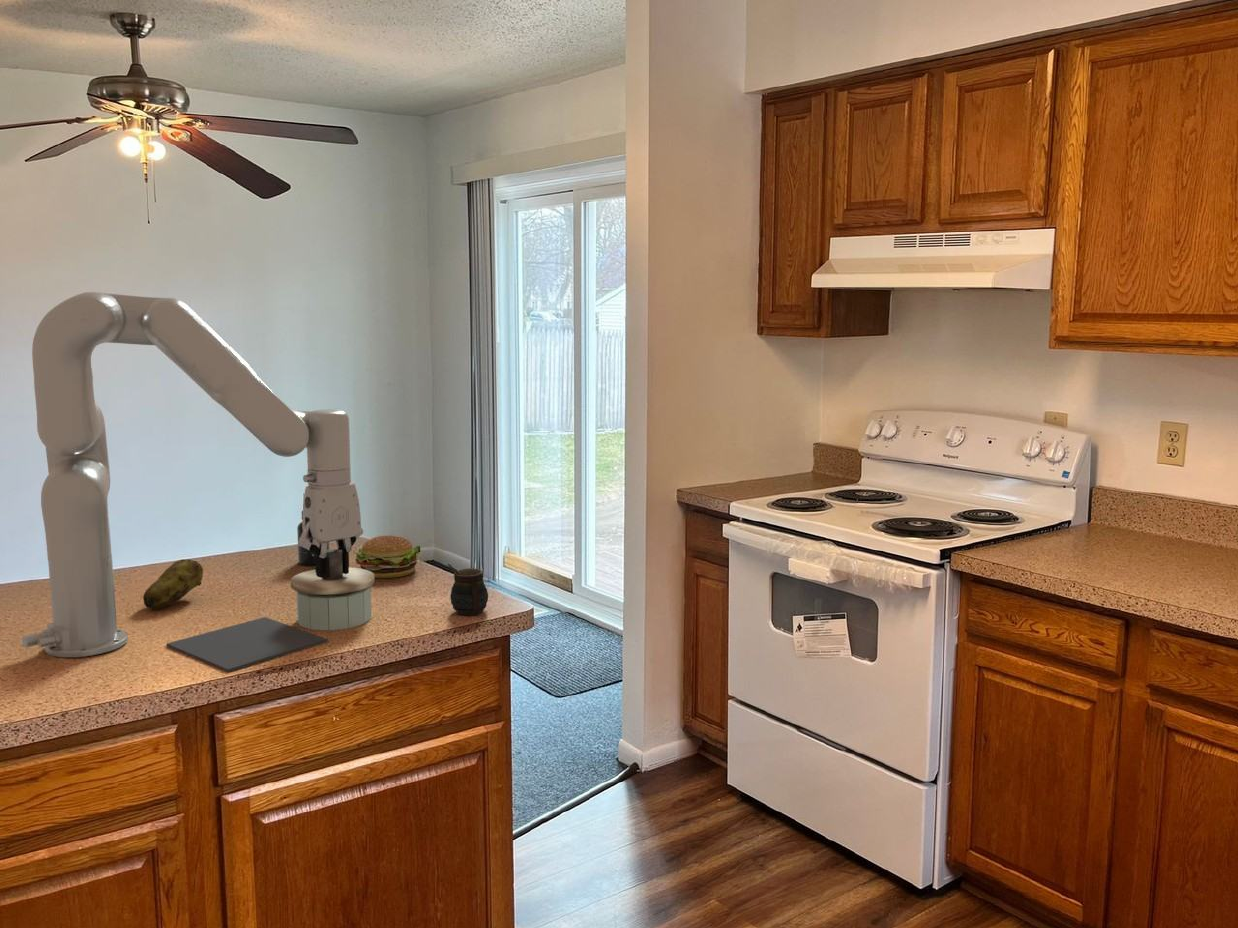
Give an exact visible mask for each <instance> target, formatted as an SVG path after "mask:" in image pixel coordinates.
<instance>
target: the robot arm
mask: <svg viewBox="0 0 1238 928" xmlns="http://www.w3.org/2000/svg"><path fill="white" fill-rule="evenodd" d="M32 339H33V340H32V348H31V350H32V351H31V352H32V353H31V356H32V369H33V371H32V372H33V387H34V397H35V407H36V429H37V434H38V437H39V439H40V441H41V443H42V444H43V445H44V447H45V455H46V463H47V469H48V472H47V473H48V475H47V476H46V478H45V480H44V482H43V484H42V488H41V492H40V493H41V494H40V506H41V507H40V508H41V511H42V512H41V513H42V519H43V525H44V527H43V528H44V532H45V533H44V534H45V542H46V543H45V545H46V554H47V562H48V563H47V564H48V573H49V574H48V576H49V577H48V578H49V584H50V585H49V586H50V588H49V589H50V598H51V612H52V621H53V622H49V623H46V629H43V630H42V631H41V632H39V633H31V634H27V635H23V637H22V641H21V642H22V645H23V647H24V648H30V647H35V646H37V647H39V648H44V651H45V653H47V655H49V656H52V657H58V658H83V657H91V656H97V655H100V654H101V655H102V654H105V653H109V652H111V651H114V650H117V649H119V648H121V647H122V646H125V645H126V644H127V642H128V640H129V637H128V635H129V634H128V633H127V632H126V631H125V630H123V629H121V628H118V622H117V609H116V596H115V592H116V591H115V582H114V567H113V554H112V543H111V541H112V540H111V529H110V521H109V520H110V519H109V510H108V498H109V497H108V495H109V491H110V487H111V473H110V471H111V470H110V462H109V452H108V443H107V432H106V430H107V429H106V423H105V417H104V414H103V411H102V410H101V408H100V406H99V405H98V404H97V403H96V400H95V393H94V392H95V391H94V383H93V382H94V378H93V377H94V376H93V369H92V355H93V351H94V350H95V348H96V347H97V346H98V345H102V344H105V343H110V344H112V343H113V344H125V345H127V344H128V345H139V346H140V345H141V346H155V347H156V348H157V349H158V350H160V351H161V352H162V353H163V354H164V355H165V356H166V357H167V358H168V359H169V360H170V361H171V362H173V363H174V364H175V365H176V366H177V367H178V369H179V368H180V369H181V370H182V371H183V373H185V374H186V375H187V377H189V378H190V379H191V380H192V381H193V382H194V383H195V384H196V385H197V386H198V387H200V389H202V390H203V391H204V392H205V393H206V394H207V395H208V396H209V397H210V398H211V399H212V400H214V401H215V402H216V403H217V404H218V405H219V406H221V407H222V408H224V409H225V410H226V411H227V412H228V413H229V414H230V415H231V416H233V418H235V419H236V421H238V422H239V423H240V425H242V426H243V427H244V428H245V429H246V430H248V431H249V433H251V434H252V435H253V436H254V437H255V438H256V439H257V440H258V441H259V442H260V443H261V444H262V445H263V446H265V448H267V449H268V450H269V451H270V452H271V453H273V454H274V455H277V456H280V457H284V458H290V457H295V456H297V455H299V454H301V453H302V452H303V451H304V450H305V449H306V456H307V459H306V461H307V470H306V471H307V474H303V476H302V480H303V482H304V483H307V485H308V486H305V488H304V494H303V503H302V511H303V515H302V514H301V517H302V518H301V522H302V527H303V532H302V535H301V537H300V539H299V541H298V540H297V546H298V545H299V546H301V547H303V548H305V549H307V550H308V551H309V552H311V553H312V555H313V556H315V566H314V567H315V569H314V570H315V571H316V576H317V577H321V578H324V579H328V578H329V577H330V573H329V558H328V557H326V551H327V542H329V543H330V542H334V541H335V542H336V547H337V548H336V549H339V550H342V563H343V573H344V574H348V573H349V567H350V554H349V553H351V552H352V549H353V548H352V547H353V546H354V544H355V543H356V542H357V540H358V539H359V538H360V537H361V536H362V535H363V533H364V530H363V528H362V519H361V518H362V516H361V507H360V499H359V496H358V495H359V494H358V491H357V488H356V487H357V486H356V484H355V482H352V478H351V477H352V476H351V475H352V474H351V473H352V472H351V471H352V470H351V444H350V443H351V439H350V418H349V414H348V413H347V412H346V411H344V410H342V409H317V410H316V409H315V410H310V411H309V410H299V409H298V410H297V409H291V408H290V407H289V406H288V405H287V404H286V403H285V402H283V400H282V399H281V398H280V397H278V395H276V393H274V392H273V391H272V390H271V388H270V387H268V386H267V385H266V384H265V383H264V381H263V380H262V379H261V378H260V377H259V376H258V375H257V374H256V372H255V371H254V370H253V368H252V367H251V366H250V364H249V363H248V362H247V361H246V360H245V359H244V358H243V357H242V356H241V355H240V354H239V353H238V352H237V351H235V349H234V348H233V347H231V345H229V344H228V343H227V342H226V341H225V340H224V339H223V338H222V337H221V336H220V335H219V334H218V333H217V332H216V331H215V330H214V329H212V328H211V327H210V325H209V324H208V323H206V322H205V321H204V320H203V319H202V318H201V316H199V315H198V314H197V313H196V312H195V311H194V310H193V309H192V308H190V307H189V305H188V304H187V303H185V302H184V301H183V300H180V299H177V298H174V297H151V296H138V295H137V296H136V295H126V294H125V295H124V294H118V293H117V294H115V293H106V292H97V291H95V292H94V291H87V292H82V293H79V294H75V295H73V296H72V297H69V298H67V299H65V300H64V301H62V302H60V303H59V304H57V305H55V306H54V307H53V308H52V309H50V310H49V311H47V313H46V314H45V315H44V317H43V318H41V320H40V322H39V324H38V326H37V327H36V330H35V332H34V336H33V338H32ZM310 539H313V544H312V543H310ZM319 546H320V548H319Z"/></svg>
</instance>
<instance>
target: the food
mask: <svg viewBox="0 0 1238 928" xmlns="http://www.w3.org/2000/svg"><path fill="white" fill-rule="evenodd" d="M413 545H414V544H413V542H412V541H410V540H409V539H407V538H405V537H402V536H400V535H394V534H393V535H392V534H391V535H389V534H388V535H380V536H375V537H371V538H370V539H368V540H366V541H365V542H364V543H363V545H362V547H361V548H358V552H356V551H354V552H353V554H354V555H355V556H356V558H355V563H356V564H357V565H359V567H360V569H365V570H368V571H371V572H372V573H373V574H374V577H375V579H395V578H401V577H404V576H408V575H410V574H412V573H414V572H416V571H415V570H416V565H417V563H418V559H417V556H418V555H419V553H421V545H415V547H414V546H413Z"/></svg>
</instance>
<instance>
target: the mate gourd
mask: <svg viewBox="0 0 1238 928" xmlns="http://www.w3.org/2000/svg"><path fill="white" fill-rule="evenodd" d="M447 566H448V567H449V568H450V569H451V570H452V571H453V572H454V573H453V579H454V582H453V584H452V587H451V590H450V591H451V592H450V595H449V596H450V603H451V606H452V609H453V610H454V611H456V613H458V614H459V615H462V616H476V615H479V614H481V613H482V612H484V610H485V609H486V607H487V604H488V600H489V593H488V589H487V586H486V584H485V583H484V582H485V581H484V571H483V570H482V569H480V568H475V567H467V568H461V569H455V568H454V567H453V566H452V565H451V563H447Z"/></svg>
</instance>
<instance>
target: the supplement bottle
mask: <svg viewBox="0 0 1238 928" xmlns="http://www.w3.org/2000/svg"><path fill="white" fill-rule="evenodd" d="M302 515H303V510H301V519H302ZM296 530H297V542H298V541H299V539H300V537H301V535H302V532H303V527H302V521H301V522H299V524H298V525H297V529H296ZM310 543H312V544H313V539H310ZM319 548H320V546H319ZM329 549H330V542H327V550H329ZM297 558H298V559H297V560H298V563H299V564H300V565H302V566H306V567H309V566H310V567H315V556H313V555H312V553H311V552H309V551H308V550H307V549H305V548H303V547H301V546H299V545H298V544H297Z"/></svg>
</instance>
